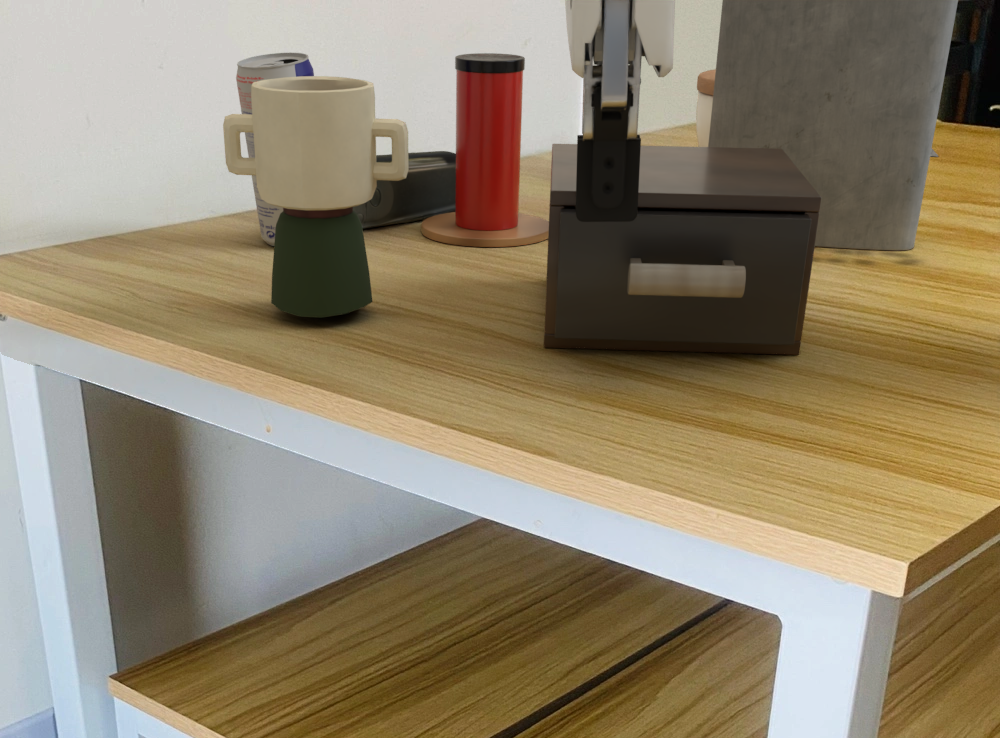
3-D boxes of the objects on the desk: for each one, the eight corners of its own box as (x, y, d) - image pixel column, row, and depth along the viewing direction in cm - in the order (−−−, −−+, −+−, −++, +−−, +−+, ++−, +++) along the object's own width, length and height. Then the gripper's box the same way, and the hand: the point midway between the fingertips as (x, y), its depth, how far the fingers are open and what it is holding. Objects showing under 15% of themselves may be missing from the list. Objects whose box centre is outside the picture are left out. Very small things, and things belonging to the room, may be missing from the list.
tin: (520, 217, 106) (525, 53, 100) (518, 232, 102) (524, 61, 96) (456, 216, 106) (457, 52, 100) (451, 230, 102) (452, 60, 96)
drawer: (805, 368, 73) (824, 236, 69) (554, 361, 74) (560, 230, 70) (762, 280, 89) (775, 169, 85) (555, 275, 90) (560, 164, 86)
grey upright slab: (914, 242, 103) (969, -64, 92) (912, 254, 100) (969, -62, 89) (703, 226, 107) (732, -69, 96) (694, 237, 104) (724, -67, 93)
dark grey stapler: (443, 145, 110) (295, 161, 100) (469, 150, 108) (321, 167, 99) (441, 210, 112) (297, 232, 103) (467, 216, 110) (323, 239, 101)
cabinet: (799, 355, 78) (821, 197, 74) (543, 347, 79) (550, 190, 74) (765, 286, 91) (782, 148, 87) (546, 280, 92) (552, 143, 88)
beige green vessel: (419, 302, 87) (417, 78, 80) (399, 334, 81) (397, 94, 74) (251, 295, 88) (236, 73, 81) (220, 325, 82) (201, 88, 75)
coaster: (552, 219, 108) (553, 212, 108) (551, 249, 100) (552, 240, 100) (426, 216, 109) (426, 208, 109) (415, 245, 100) (415, 236, 100)
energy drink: (349, 233, 101) (327, 55, 94) (292, 252, 98) (265, 70, 91) (303, 222, 104) (279, 49, 97) (247, 241, 101) (218, 64, 94)
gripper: (720, -210, 56) (688, 251, 66) (690, -194, 69) (667, 190, 79) (537, -205, 57) (532, 251, 66) (541, -191, 69) (536, 191, 79)
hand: (605, 217), depth 72 cm, fingers closed
